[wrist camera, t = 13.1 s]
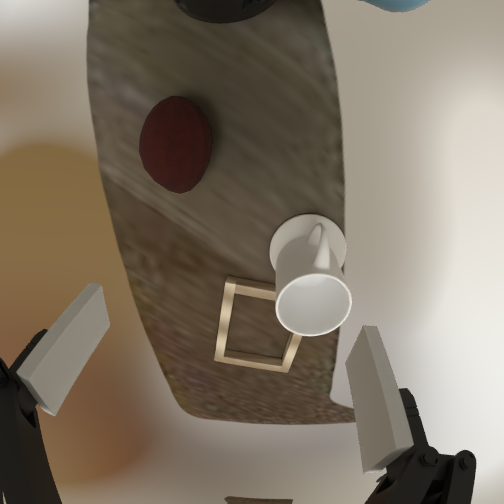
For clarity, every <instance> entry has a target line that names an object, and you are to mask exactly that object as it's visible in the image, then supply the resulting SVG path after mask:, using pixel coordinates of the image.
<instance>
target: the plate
mask: <svg viewBox="0 0 504 504" xmlns="http://www.w3.org/2000/svg"><path fill="white" fill-rule="evenodd" d="M318 223H322V224H323V225H324V227H325V229H326V232H327V235H328V241H329V247H330V248H331V249H332V251H333V253H334V254H335V256H336V259H337V261H338V263H339V266H340V268H341V267H342V265H343V263H344V261H345V258H346V252H347V246H346V241H345V237H344V235H343V233H342V232H341V230H340V228H339V227H338V226H337V225H336V224H335V223H334V222H333V221H332V220H330V219H328V218H326V217H324V216H321V215H318V214H301V215H297V216H294V217H292V218H290V219H288V220H287V221H285V222H284V223H283V224H282V225H280V226H279V228H278V229H277V230H276V232H275V233H274V235H273V237H272V240H271V243H270V260H271V263H272V266H273V268H274V270H275V271H276V261H277V258H278V255H279V253H280V252H281V250H282V249H283V248H284V247H285V246H286V245H287V244H288V243H290V242H291V241H293V240H296V239H299V238H304V237H309V235H310V233H311V231H312V229H313V228H314V226H315V225H316V224H318Z"/></svg>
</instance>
